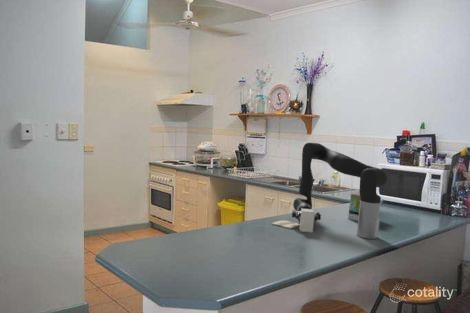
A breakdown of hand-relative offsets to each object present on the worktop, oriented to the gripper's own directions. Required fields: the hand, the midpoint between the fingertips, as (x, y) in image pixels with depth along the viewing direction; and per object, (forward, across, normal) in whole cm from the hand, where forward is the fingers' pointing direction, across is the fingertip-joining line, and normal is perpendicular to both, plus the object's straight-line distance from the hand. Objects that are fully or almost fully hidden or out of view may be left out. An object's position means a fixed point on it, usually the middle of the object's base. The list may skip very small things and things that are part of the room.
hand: (307, 218), depth 197 cm
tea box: (-38, +34, +6) cm, 52 cm away
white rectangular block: (0, 0, +6) cm, 6 cm away
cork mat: (-7, -9, +6) cm, 13 cm away
